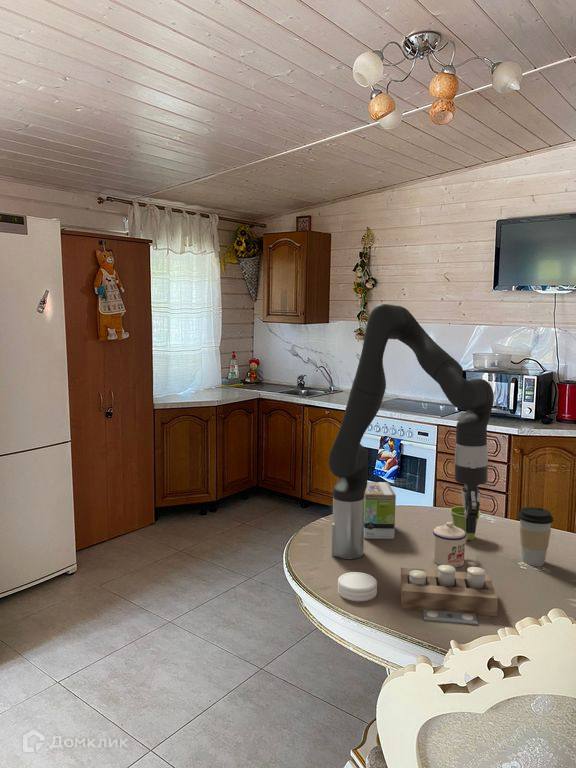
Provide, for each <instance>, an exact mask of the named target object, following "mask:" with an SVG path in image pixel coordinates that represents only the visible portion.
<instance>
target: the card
mask: <svg viewBox="0 0 576 768" xmlns="http://www.w3.org/2000/svg"><path fill="white" fill-rule="evenodd" d="M422 615H423V620H424V621H427V622H439V623H449V624H451V623H452V624H460V625H461V624H463V625H470V626H471V625H472V626H478V625H479V622H478V619H477V615H475V614H473V613H461V612H450V611H438V610H426V609H423V610H422Z"/></svg>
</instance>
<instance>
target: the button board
mask: <svg viewBox="0 0 576 768" xmlns="http://www.w3.org/2000/svg"><path fill="white" fill-rule="evenodd" d="M412 570H420V571H423V572H425V573H426V585H420V584H409V577H410V575H409V572H410V571H412ZM467 576H468V571H467V572H466V571H455V586H454V587H446V586H440V585H439V584H438V569H425V568H413V567H400V580H399V581H400V585H399V586H400V600H401V601H400V602H401V603H400V604H401V609H403V610H404V609H405V610H417V611H423V609H426V610H438V611H450V612H461V613H473V614H475V615H476V616H487V617H498V607H499V605H498V601H499V600H498V599H499V598H498V595H497V593H496V591H495V587H494V586H493V585H494V584H493V583H492V580H491V578H490V574H489V573H485V581H484V589H472V588H469V587H468V586H467Z"/></svg>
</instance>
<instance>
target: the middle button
mask: <svg viewBox="0 0 576 768" xmlns="http://www.w3.org/2000/svg"><path fill="white" fill-rule="evenodd" d="M437 570H438V584H439V585H440V586H446V587H454V586H455V572H457V570H456V567H455V568H454V567H453V566H450V565H438V567H437Z"/></svg>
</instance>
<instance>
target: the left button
mask: <svg viewBox="0 0 576 768" xmlns="http://www.w3.org/2000/svg"><path fill="white" fill-rule="evenodd" d="M409 575H410V577H409V584H420V585H426V573H425V572H423V571H420V570H412V571H410V572H409Z"/></svg>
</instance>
